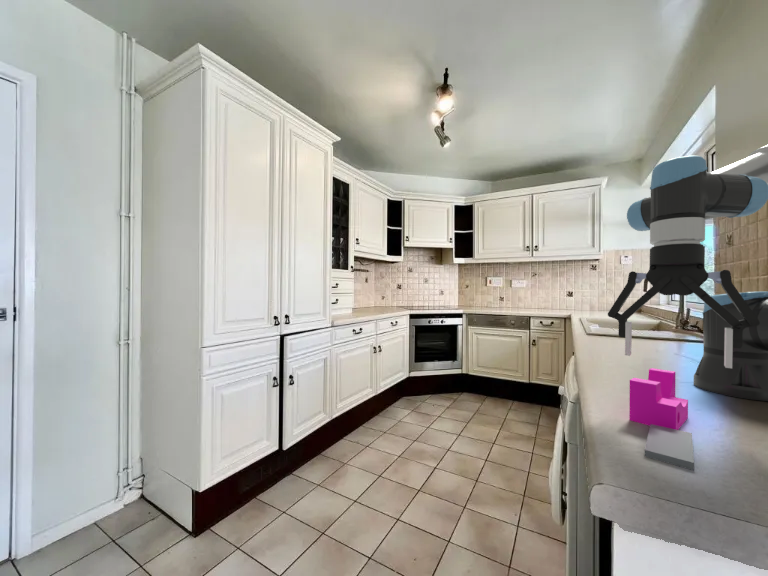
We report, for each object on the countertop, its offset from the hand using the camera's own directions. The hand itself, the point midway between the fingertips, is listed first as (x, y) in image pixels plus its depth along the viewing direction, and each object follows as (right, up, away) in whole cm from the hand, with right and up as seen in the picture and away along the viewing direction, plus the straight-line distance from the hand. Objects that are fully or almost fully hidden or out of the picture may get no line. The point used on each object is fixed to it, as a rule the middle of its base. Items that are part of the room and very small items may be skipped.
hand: (674, 360), depth 60 cm
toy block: (-2, -11, +1) cm, 11 cm away
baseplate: (-11, -10, -11) cm, 19 cm away
